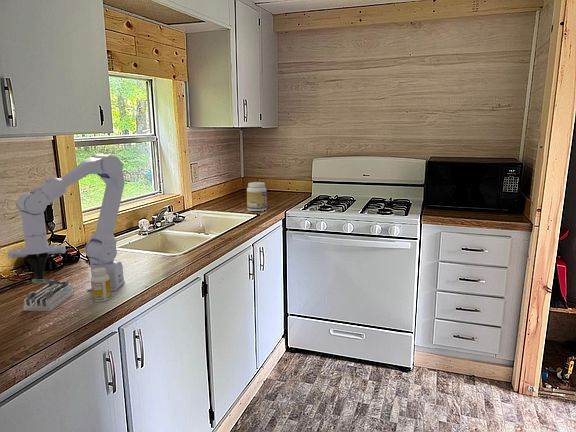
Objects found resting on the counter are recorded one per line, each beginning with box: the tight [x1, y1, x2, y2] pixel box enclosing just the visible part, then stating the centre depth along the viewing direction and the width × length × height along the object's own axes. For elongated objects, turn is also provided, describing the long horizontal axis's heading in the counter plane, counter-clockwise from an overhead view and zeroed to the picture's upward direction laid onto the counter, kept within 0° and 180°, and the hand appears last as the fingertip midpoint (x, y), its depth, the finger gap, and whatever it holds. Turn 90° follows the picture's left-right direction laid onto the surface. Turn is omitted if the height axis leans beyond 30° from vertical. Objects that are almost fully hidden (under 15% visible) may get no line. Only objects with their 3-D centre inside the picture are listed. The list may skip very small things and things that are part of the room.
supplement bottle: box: [90, 267, 112, 303], centre depth 135 cm, size 5×5×10 cm
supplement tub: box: [246, 181, 268, 212], centre depth 266 cm, size 12×12×17 cm
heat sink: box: [22, 279, 75, 312], centre depth 133 cm, size 13×8×5 cm, turn 177°
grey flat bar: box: [31, 278, 63, 285], centre depth 134 cm, size 11×4×1 cm, turn 177°
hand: (40, 278), depth 129 cm, fingers closed, pressing on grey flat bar
